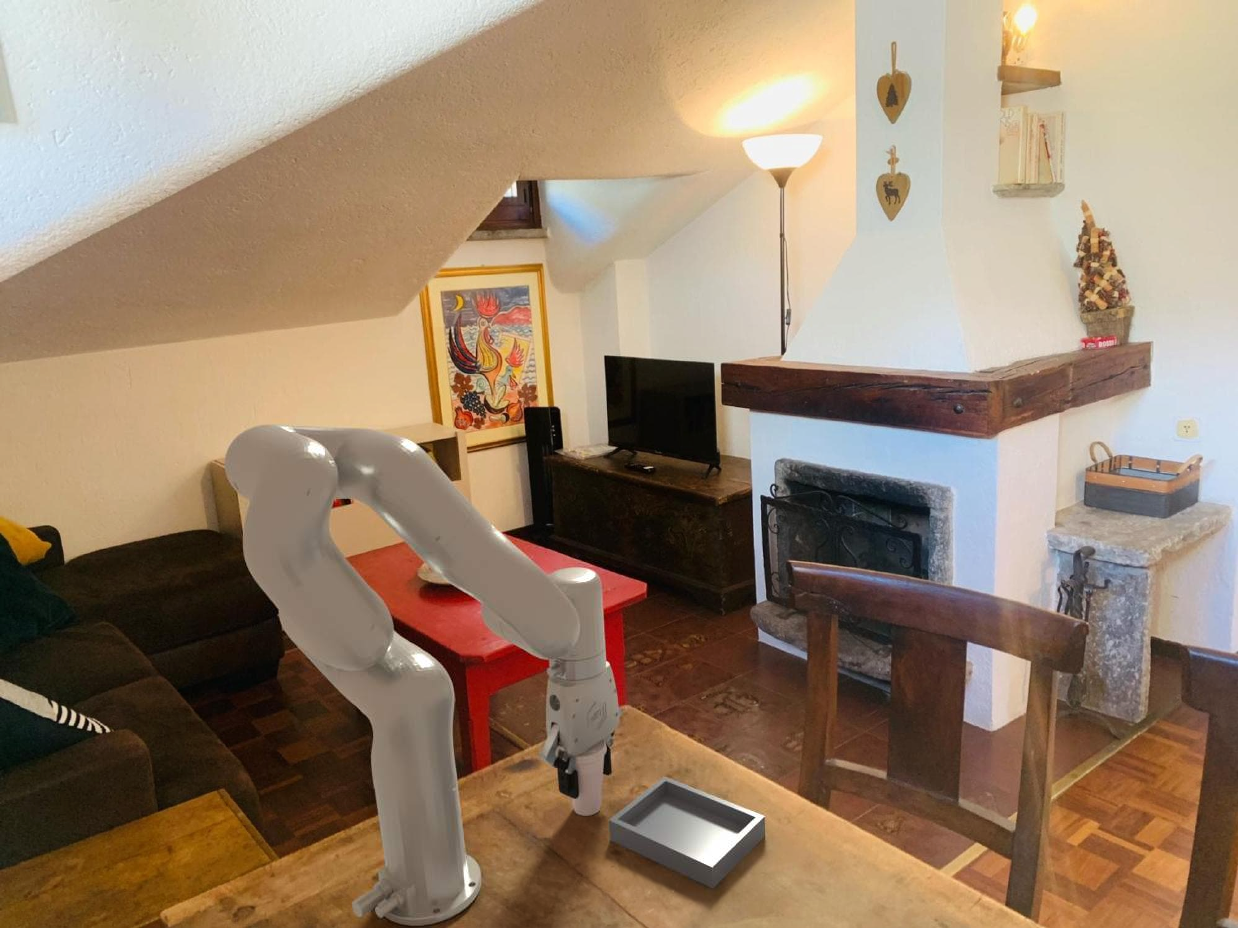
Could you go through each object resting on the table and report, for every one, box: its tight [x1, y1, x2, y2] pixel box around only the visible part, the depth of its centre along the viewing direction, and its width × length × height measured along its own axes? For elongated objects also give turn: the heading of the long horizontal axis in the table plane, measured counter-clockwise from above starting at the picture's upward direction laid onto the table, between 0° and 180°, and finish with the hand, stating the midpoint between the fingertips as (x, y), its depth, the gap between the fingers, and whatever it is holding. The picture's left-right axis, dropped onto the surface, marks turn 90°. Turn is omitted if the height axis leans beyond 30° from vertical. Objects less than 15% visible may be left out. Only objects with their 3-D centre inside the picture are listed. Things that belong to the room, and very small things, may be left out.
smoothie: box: [563, 739, 607, 817], centre depth 126 cm, size 6×6×14 cm
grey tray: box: [608, 776, 766, 890], centre depth 120 cm, size 12×16×3 cm
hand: (585, 781), depth 127 cm, fingers closed on smoothie, 6 cm apart
